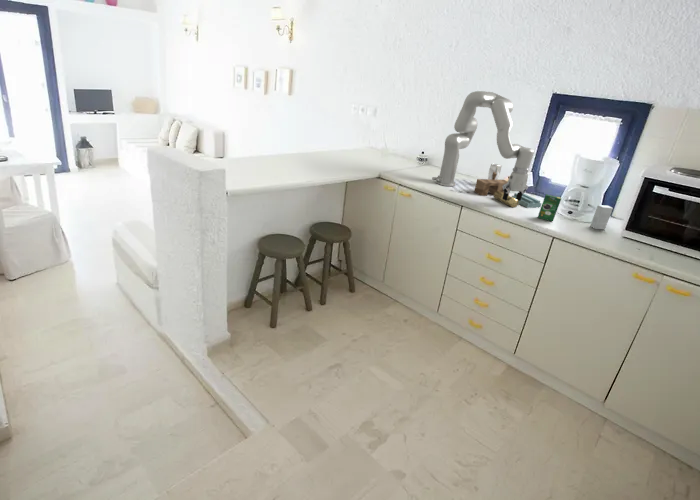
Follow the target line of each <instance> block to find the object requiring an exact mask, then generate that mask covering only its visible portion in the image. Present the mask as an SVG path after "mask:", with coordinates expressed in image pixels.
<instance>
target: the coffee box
mask: <svg viewBox="0 0 700 500" xmlns="http://www.w3.org/2000/svg"><path fill="white" fill-rule="evenodd" d="M561 200H562V197H560V196H555V195H551V194H547V193H546V194H545V196H544V198H543V200H542V202H541V203H542V204H541V207H540V208H539V211H538V212H539V213H538V215H537V218H538V219H540V220H544V219H545V221H548V220H549V221H548V222H552V221H553V222H554V219H555V217H556V215H557V211H558V210H559V207H560V204H561Z"/></svg>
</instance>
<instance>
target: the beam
mask: <svg viewBox="0 0 700 500" xmlns="http://www.w3.org/2000/svg"><path fill="white" fill-rule="evenodd" d="M507 182H508V180H505V179H497V180H494V179H488V178H487V179H486V178H485V179H483V178H482V179H480V178H477V180H476V183H475V185H474V186H475V187H474V190H473V192H474V193H475V194H478V195H480V196H481V197H486V196H488V193H489V194H491V195H493V196H494V193H495V192H496V191H500V192H502V193H504V192H503V187H502V186H503V185H504V184H506V183H507ZM507 191H508V190H507ZM510 193H511V191H510V192H509V193H508V194H509V195H510Z"/></svg>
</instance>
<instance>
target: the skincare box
mask: <svg viewBox="0 0 700 500" xmlns="http://www.w3.org/2000/svg"><path fill="white" fill-rule="evenodd" d="M613 210H614V208H613V207H612V206H610V205H608V204H607V205H602V204H597V206H596V209H595V211H594V215H593V216H592V220H591V222H590V225H589V226H590V227H591V228H592V227H593V228H592V229H594V230H606V228H607V225H608V223H609V220H610V218H611V216H612V215H611V214H612V212H613Z"/></svg>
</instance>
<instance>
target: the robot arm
mask: <svg viewBox="0 0 700 500" xmlns="http://www.w3.org/2000/svg"><path fill="white" fill-rule="evenodd" d="M477 108H488V109H490V110H491V114H492V117H493V120H494V123H495V127H496V129H497V131H496V145H497V148H498V151H499V154H500V156H501V157H502V158H503V159H505V160H506V159H516V160H515V164H514V167H513V168H512V171H511V173H510V175H509V177H508V180H507V181H508V182H507V183H506V184H504V185H503V186H502V187H503V192H504V194H503V198H502V199H503V200H505V201H506V200H507V198H508V195H509V196H510V193H511V192H517V193H518V194H517V197H516V199H517V200H519V201H520V200H521V197H522V194H525V192H526V191H527V190H528V188H529V185H528V184H527V183H528V179H529V177H528V176H529V174H528V173H529V169H530V167H531V163H532V161H533V157H534V154H535V149H533V148H529V147H526V146H525V147H524V146H522V145H520V144H518V143H514V144H513V143H511V139H510V131H511V129H512V127H513V125H514V122H513V119H512V116H511V113H512V112H513V108H514V104H513V101H512V100H510V99H509V98H506V97H504V96H502V95H499V94H498V93H496V92H493V91H486V90H485V91H484V90H481V91H479V90H477V91H472V92H470V93H469V94H468V95H466V97H465V99H464V101H463V104H462V106H461V109H460V110H459V113H458V115H457V118H456V120H455V122H454V127H453V129H454V130H455V132H456V133H451V134H448V135H447V136H446V138H445V140H444V150H443V151H444V152H443V157H442V162H441V168H440V171H439V175H437V176H433V177H431V180H432V181H435V183H436V184H438V185H441V186H445V187H455V186H456V184H457V183H456V182H455V177H456V174H457V173H456V172H457V169H458V164H459V159H460V150H463V149H466V148H467V147H468V146H469V145H470V144H471V143H472V139H473V137H474V135H475V133H476V131H477V129H478V121H477V119H476V118H475V115H476V112H477ZM507 190H508V191H507ZM509 192H510V193H509ZM508 193H509V194H508Z"/></svg>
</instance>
